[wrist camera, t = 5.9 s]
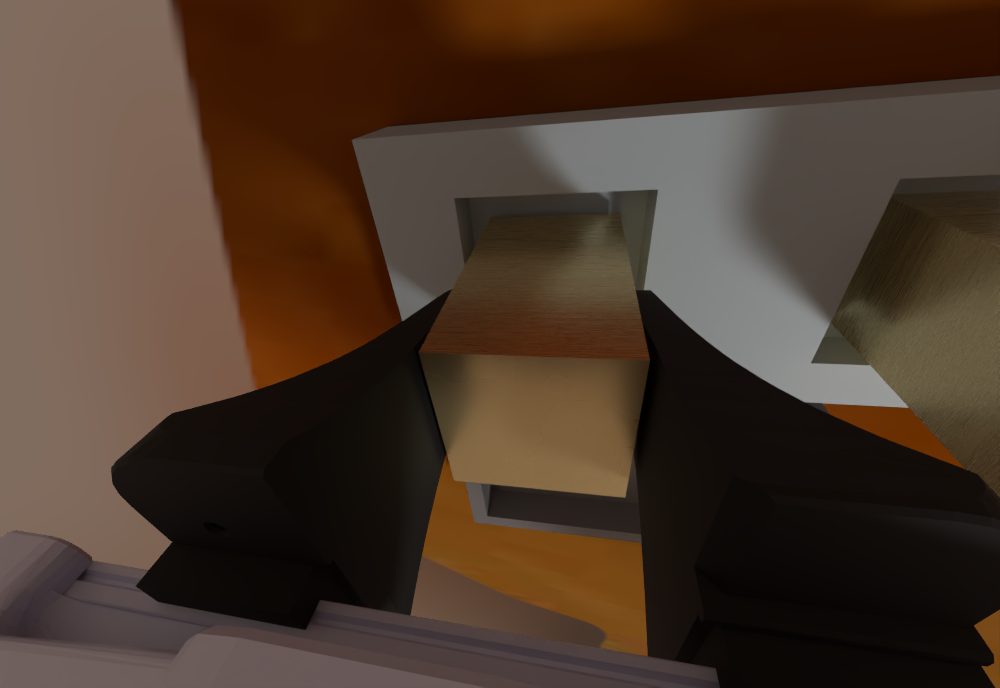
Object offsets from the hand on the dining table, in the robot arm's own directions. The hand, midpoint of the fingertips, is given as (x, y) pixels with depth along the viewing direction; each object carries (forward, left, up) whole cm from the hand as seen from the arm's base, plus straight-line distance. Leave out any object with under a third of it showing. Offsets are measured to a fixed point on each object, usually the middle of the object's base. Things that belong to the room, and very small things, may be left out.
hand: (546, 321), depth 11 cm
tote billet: (0, 0, -3) cm, 3 cm away
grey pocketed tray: (0, -6, -5) cm, 7 cm away
